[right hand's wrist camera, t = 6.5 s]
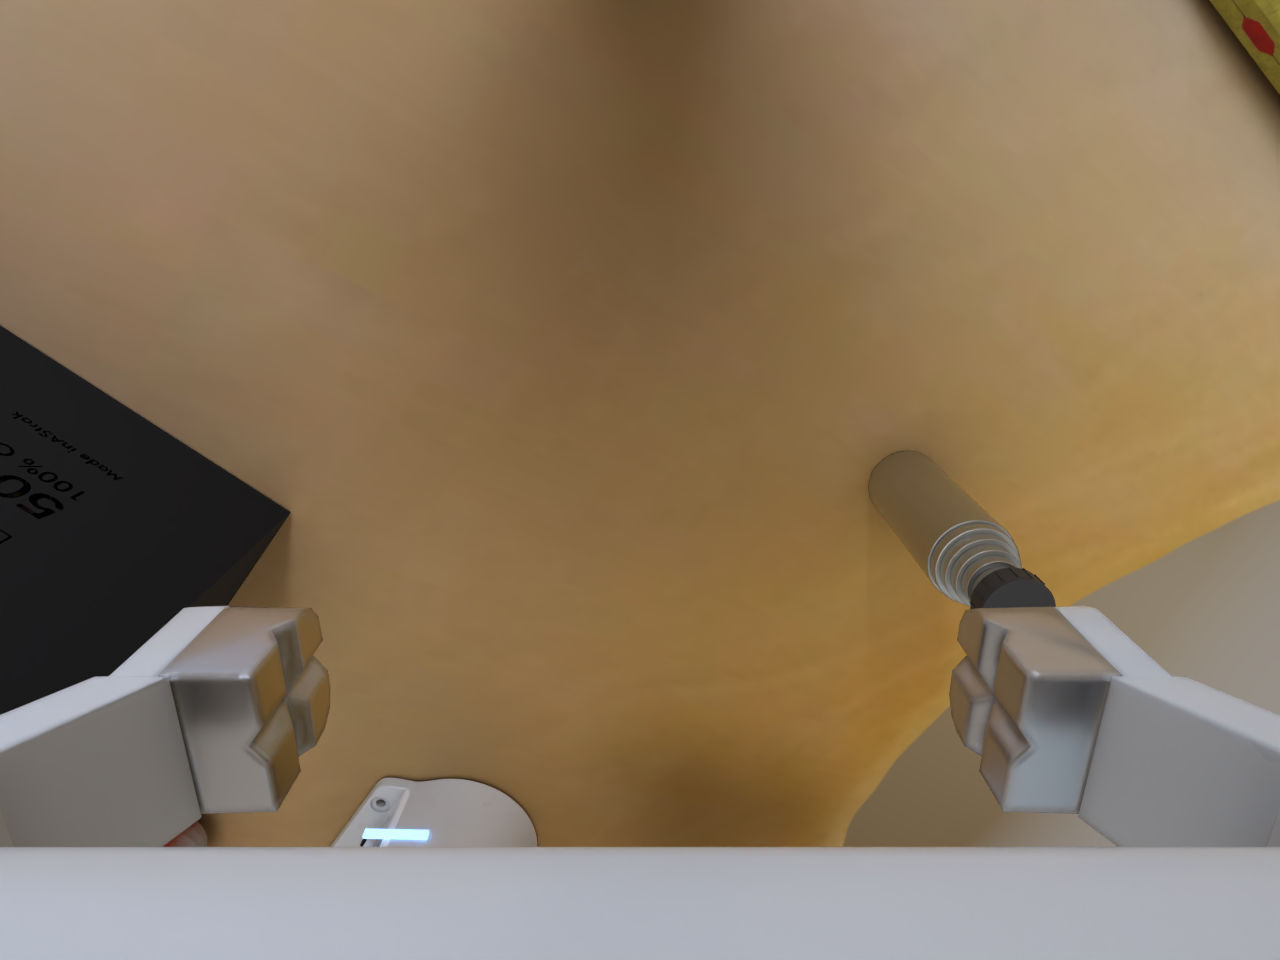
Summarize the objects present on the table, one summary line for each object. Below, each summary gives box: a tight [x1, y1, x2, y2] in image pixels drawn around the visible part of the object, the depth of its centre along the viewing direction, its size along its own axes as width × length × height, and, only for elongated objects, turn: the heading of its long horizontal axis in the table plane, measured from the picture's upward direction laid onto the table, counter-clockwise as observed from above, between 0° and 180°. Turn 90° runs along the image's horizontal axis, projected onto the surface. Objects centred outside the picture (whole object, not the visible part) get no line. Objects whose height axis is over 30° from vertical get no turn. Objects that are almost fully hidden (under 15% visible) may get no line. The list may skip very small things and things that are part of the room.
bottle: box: [869, 451, 1022, 607], centre depth 52 cm, size 5×5×19 cm
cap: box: [970, 567, 1055, 609], centre depth 43 cm, size 4×4×2 cm
